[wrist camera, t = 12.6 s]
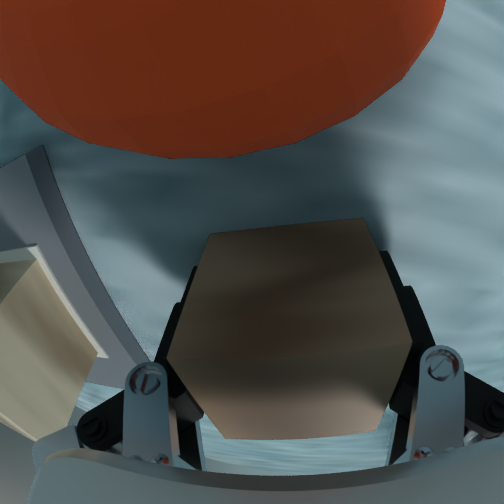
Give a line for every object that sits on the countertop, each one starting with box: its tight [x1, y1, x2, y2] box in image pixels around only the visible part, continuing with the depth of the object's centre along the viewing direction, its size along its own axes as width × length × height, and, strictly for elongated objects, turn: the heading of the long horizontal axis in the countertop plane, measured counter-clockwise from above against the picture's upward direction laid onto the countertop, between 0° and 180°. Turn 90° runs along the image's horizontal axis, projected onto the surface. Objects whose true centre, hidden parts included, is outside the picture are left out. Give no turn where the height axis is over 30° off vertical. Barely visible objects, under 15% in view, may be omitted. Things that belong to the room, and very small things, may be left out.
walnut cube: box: [167, 218, 412, 440], centre depth 9 cm, size 5×5×5 cm
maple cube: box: [0, 259, 98, 442], centre depth 10 cm, size 6×6×6 cm
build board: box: [0, 145, 150, 389], centre depth 12 cm, size 10×14×1 cm
